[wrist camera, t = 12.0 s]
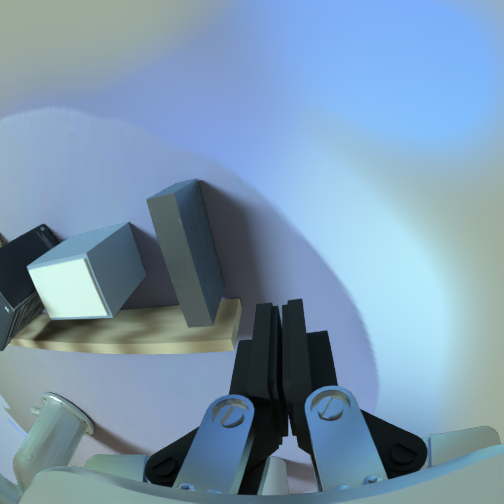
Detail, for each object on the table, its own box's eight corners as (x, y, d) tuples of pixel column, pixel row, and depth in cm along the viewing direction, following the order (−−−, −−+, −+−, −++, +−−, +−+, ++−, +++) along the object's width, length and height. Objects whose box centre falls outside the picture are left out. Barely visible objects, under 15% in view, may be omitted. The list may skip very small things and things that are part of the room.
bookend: (204, 289, 26) (188, 327, 21) (174, 183, 23) (146, 199, 17) (224, 287, 26) (213, 325, 21) (197, 178, 22) (174, 192, 17)
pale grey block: (88, 282, 28) (50, 320, 21) (70, 236, 26) (25, 267, 19) (146, 274, 27) (112, 319, 20) (129, 221, 25) (84, 254, 18)
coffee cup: (229, 458, 40) (219, 530, 27) (277, 448, 38) (274, 528, 24) (259, 474, 43) (254, 538, 29) (303, 465, 41) (304, 534, 27)
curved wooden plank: (31, 321, 32) (9, 344, 26) (-7, 231, 26) (-36, 248, 21) (242, 308, 27) (234, 350, 22) (206, 157, 22) (184, 165, 16)
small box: (42, 218, 25) (-25, 257, 16) (77, 260, 27) (16, 312, 17) (18, 271, 28) (-32, 311, 19) (48, 307, 30) (2, 354, 20)
